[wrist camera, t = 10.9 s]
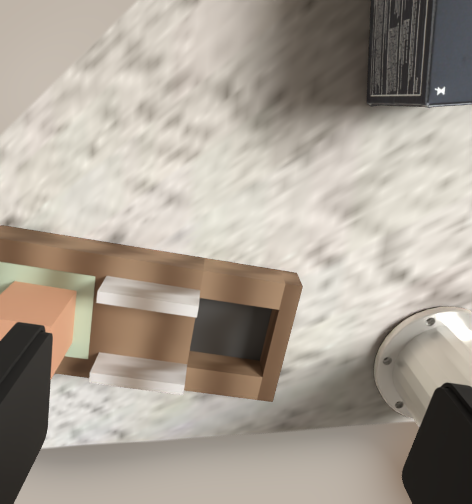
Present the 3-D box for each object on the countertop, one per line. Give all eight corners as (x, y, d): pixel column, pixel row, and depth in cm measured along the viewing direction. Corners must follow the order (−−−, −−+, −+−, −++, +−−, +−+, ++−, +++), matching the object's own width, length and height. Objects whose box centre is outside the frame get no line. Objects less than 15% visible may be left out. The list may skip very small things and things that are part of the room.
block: (76, 290, 37) (51, 326, 31) (72, 342, 38) (47, 385, 33) (14, 281, 36) (-23, 315, 30) (12, 333, 38) (-24, 376, 32)
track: (296, 273, 40) (309, 302, 35) (269, 382, 44) (276, 424, 39) (2, 225, 38) (-36, 248, 32) (0, 345, 42) (-34, 385, 36)
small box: (444, 101, 36) (530, 104, 26) (364, 106, 36) (421, 111, 26) (459, -51, 32) (566, -116, 22) (370, -47, 32) (439, -109, 22)
